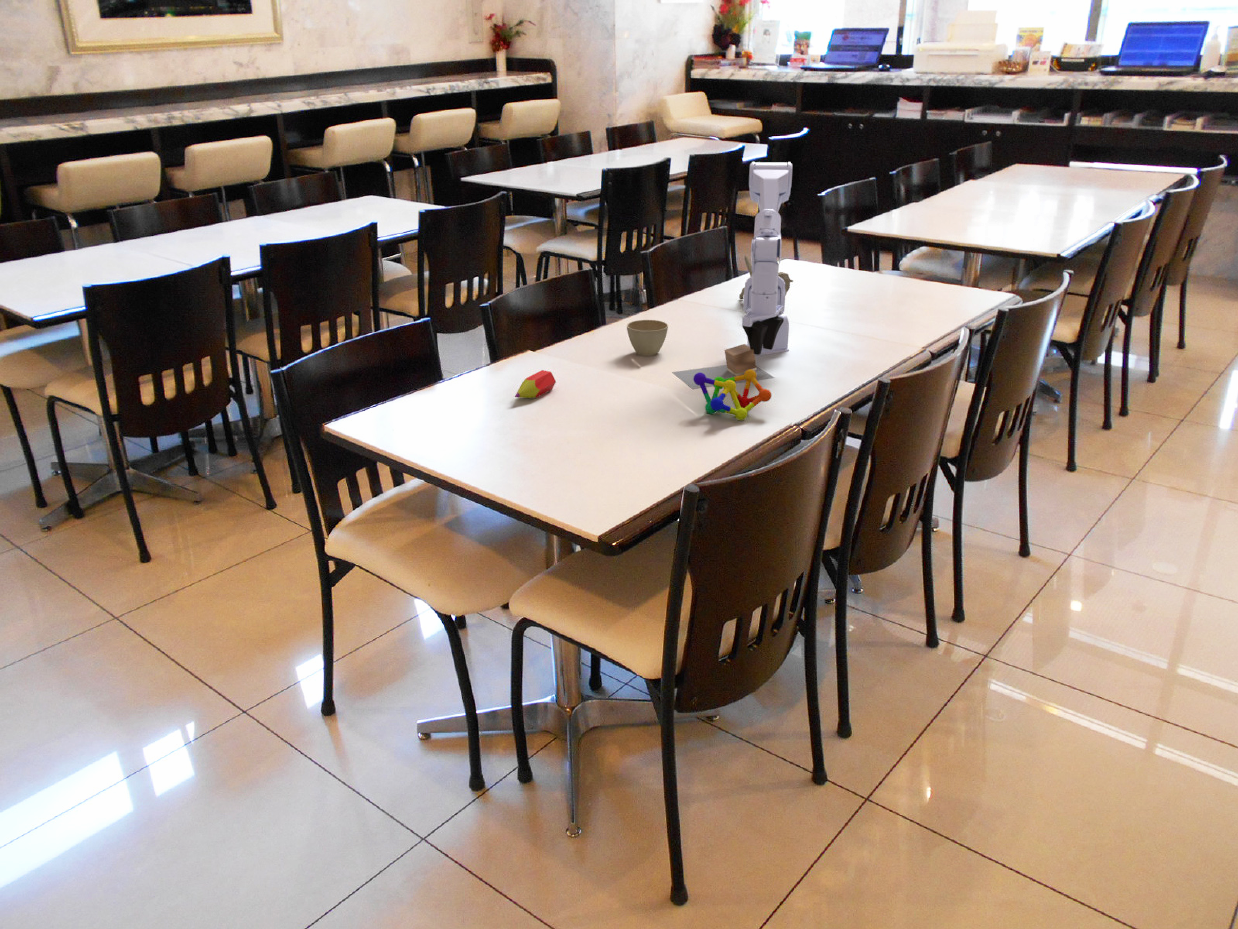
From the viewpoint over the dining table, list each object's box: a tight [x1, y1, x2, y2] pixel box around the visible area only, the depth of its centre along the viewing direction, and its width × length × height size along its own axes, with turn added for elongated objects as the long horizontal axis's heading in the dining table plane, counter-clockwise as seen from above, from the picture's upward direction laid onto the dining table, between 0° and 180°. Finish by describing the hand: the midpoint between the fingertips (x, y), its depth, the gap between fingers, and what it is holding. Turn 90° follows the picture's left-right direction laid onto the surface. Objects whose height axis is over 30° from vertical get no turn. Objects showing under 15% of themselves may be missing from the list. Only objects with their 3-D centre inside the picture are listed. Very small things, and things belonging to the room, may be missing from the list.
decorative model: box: [694, 369, 772, 421], centre depth 192 cm, size 13×9×15 cm
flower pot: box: [626, 319, 669, 357], centre depth 228 cm, size 10×10×7 cm
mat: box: [672, 364, 775, 390], centre depth 213 cm, size 20×12×1 cm, turn 109°
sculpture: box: [738, 255, 794, 300], centre depth 259 cm, size 6×18×30 cm
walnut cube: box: [724, 343, 757, 376], centre depth 213 cm, size 5×5×5 cm
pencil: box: [514, 369, 557, 399], centre depth 202 cm, size 5×12×4 cm, turn 149°
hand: (761, 351), depth 213 cm, fingers open, 5 cm apart
